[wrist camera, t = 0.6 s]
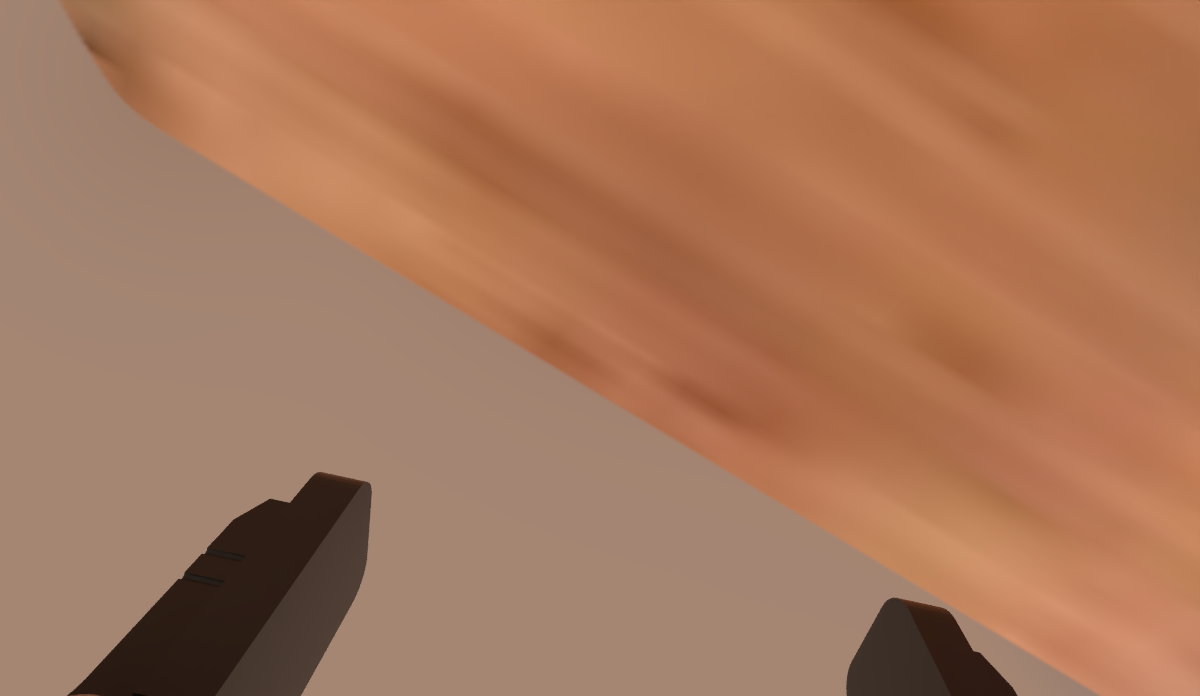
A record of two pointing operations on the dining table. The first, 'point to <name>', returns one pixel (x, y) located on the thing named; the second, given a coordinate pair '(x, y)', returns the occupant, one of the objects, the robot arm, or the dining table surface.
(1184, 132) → the dining table surface
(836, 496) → the dining table surface
